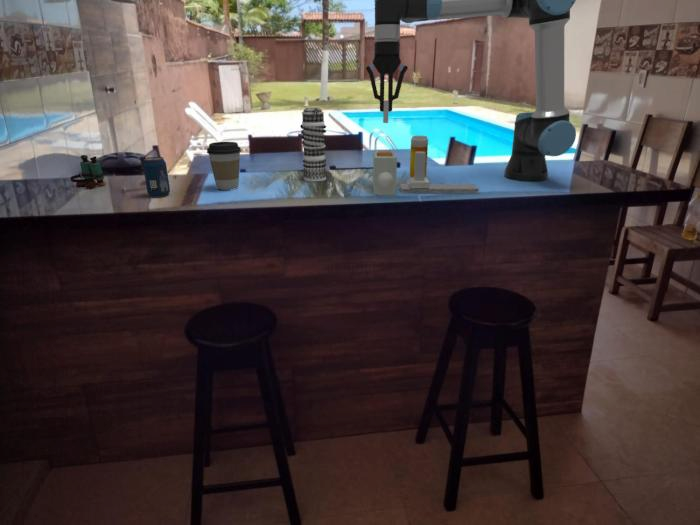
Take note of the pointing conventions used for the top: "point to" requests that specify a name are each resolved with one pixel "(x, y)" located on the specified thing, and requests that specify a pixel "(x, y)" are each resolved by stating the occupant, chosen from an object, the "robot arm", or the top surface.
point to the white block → (384, 174)
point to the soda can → (156, 177)
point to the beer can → (418, 146)
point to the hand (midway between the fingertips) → (385, 122)
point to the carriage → (419, 172)
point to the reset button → (384, 152)
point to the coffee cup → (225, 164)
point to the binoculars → (89, 173)
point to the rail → (440, 188)
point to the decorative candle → (313, 144)
